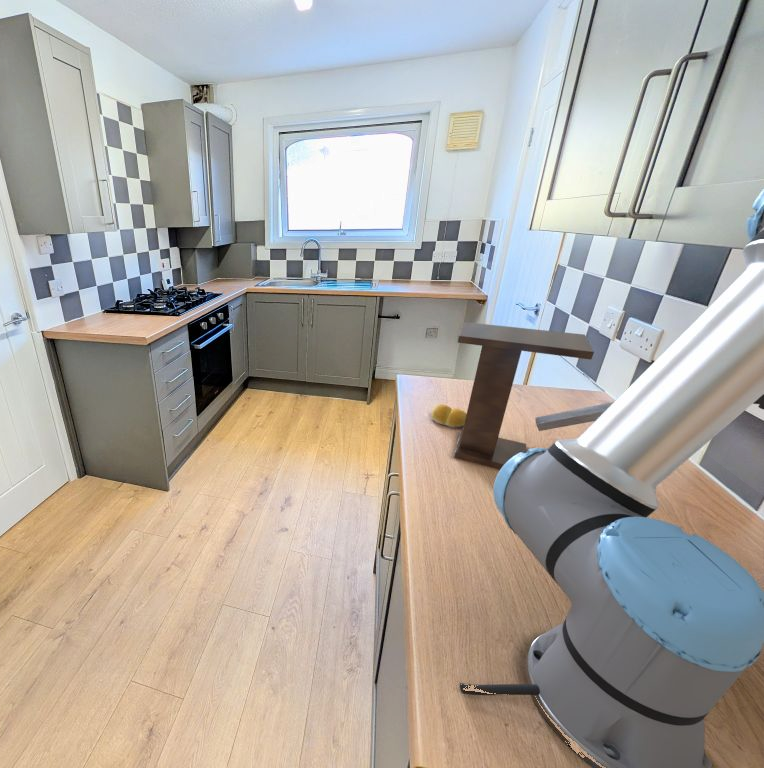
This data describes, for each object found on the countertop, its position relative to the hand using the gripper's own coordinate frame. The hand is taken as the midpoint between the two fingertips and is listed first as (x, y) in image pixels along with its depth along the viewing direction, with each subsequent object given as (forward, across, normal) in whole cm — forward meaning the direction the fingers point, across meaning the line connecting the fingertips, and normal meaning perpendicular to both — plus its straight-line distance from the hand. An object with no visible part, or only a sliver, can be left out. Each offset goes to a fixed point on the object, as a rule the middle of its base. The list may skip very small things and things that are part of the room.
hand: (681, 379), depth 61 cm
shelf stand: (+22, +11, -28) cm, 37 cm away
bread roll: (+32, +23, -28) cm, 48 cm away
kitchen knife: (+3, 0, -6) cm, 6 cm away
